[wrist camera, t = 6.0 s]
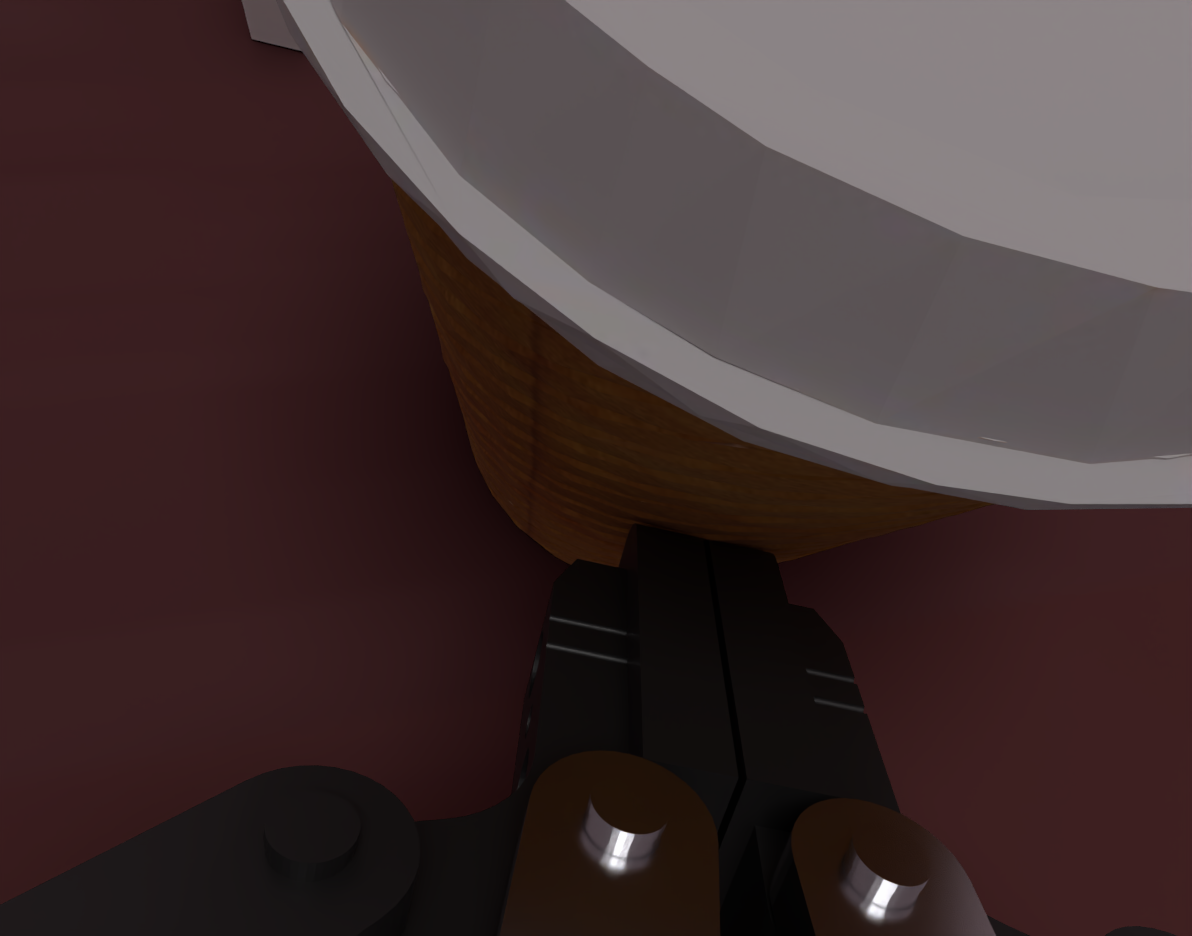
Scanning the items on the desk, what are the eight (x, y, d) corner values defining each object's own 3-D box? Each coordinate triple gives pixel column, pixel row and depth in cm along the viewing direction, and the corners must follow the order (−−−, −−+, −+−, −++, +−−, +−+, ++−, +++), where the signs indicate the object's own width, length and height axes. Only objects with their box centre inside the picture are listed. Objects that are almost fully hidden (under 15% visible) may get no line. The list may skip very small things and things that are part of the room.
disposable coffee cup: (775, 100, 19) (1274, -930, 8) (1023, 560, 17) (2239, 82, 5) (278, 242, 16) (-78, -950, 5) (492, 799, 14) (681, 843, 3)
